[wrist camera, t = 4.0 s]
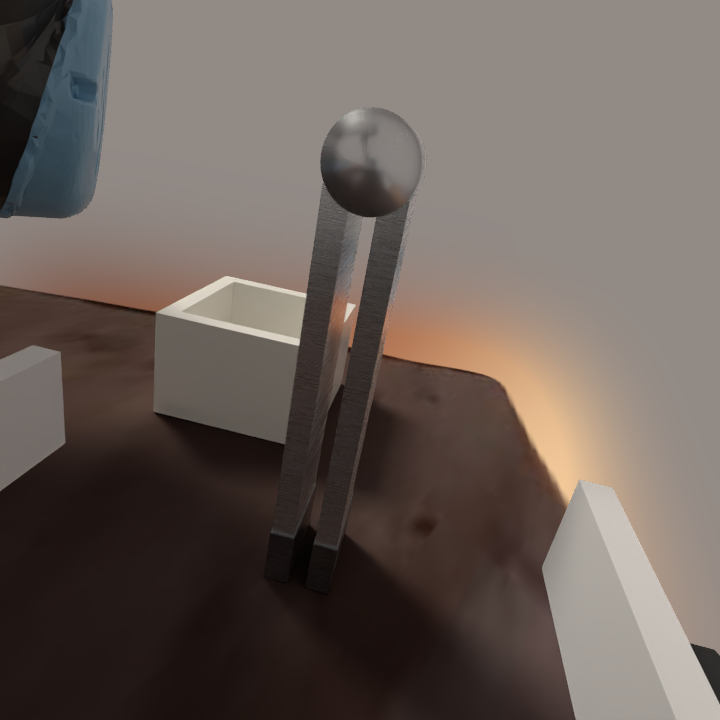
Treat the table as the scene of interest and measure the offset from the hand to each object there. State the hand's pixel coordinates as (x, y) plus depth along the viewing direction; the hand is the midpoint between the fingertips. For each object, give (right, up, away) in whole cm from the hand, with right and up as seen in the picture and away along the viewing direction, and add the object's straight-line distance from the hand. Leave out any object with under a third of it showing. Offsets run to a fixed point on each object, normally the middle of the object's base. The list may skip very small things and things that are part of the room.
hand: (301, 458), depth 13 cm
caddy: (-6, 0, +23) cm, 24 cm away
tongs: (-1, -6, +10) cm, 12 cm away
